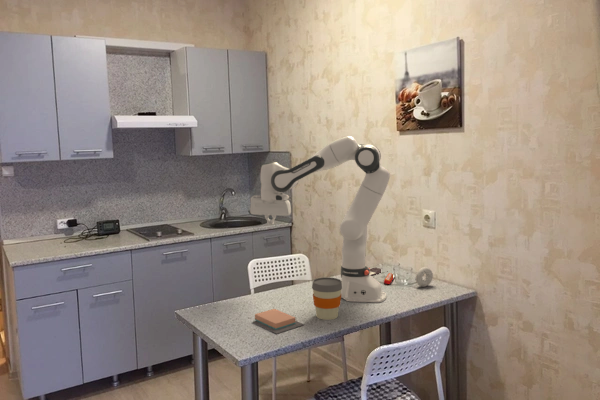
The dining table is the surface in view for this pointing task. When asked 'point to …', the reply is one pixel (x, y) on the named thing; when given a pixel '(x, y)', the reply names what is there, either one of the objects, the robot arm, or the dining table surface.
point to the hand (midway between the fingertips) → (270, 224)
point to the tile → (275, 319)
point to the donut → (420, 274)
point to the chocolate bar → (375, 271)
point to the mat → (280, 328)
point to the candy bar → (388, 278)
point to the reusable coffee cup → (327, 297)
